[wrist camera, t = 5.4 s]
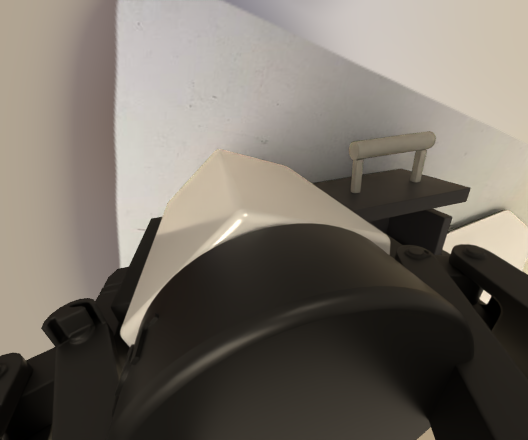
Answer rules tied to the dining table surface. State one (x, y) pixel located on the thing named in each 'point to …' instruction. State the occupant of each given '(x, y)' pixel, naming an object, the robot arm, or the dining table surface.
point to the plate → (494, 239)
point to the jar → (279, 319)
